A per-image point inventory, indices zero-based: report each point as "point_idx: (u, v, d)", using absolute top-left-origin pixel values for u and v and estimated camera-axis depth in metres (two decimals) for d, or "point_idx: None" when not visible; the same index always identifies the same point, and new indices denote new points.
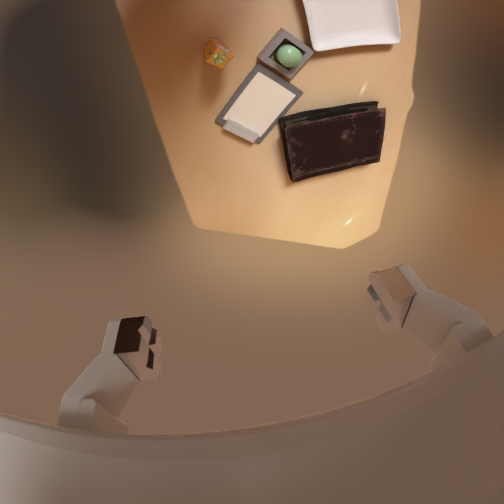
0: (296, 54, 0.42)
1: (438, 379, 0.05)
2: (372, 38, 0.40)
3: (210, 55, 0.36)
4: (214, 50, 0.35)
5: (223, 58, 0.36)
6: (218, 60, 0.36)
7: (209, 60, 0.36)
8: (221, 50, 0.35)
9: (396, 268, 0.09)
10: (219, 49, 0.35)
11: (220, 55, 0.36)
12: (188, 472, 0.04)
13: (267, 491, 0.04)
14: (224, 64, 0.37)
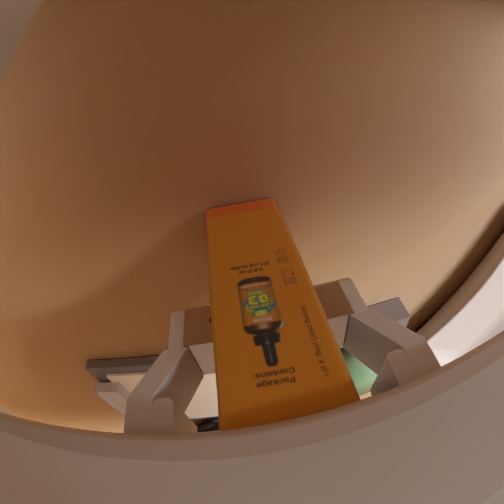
0: None
1: (438, 379, 0.05)
2: None
3: (272, 396, 0.06)
4: (320, 389, 0.06)
5: None
6: None
7: None
8: None
9: (336, 283, 0.09)
10: None
11: None
12: (188, 472, 0.04)
13: (268, 490, 0.04)
14: None
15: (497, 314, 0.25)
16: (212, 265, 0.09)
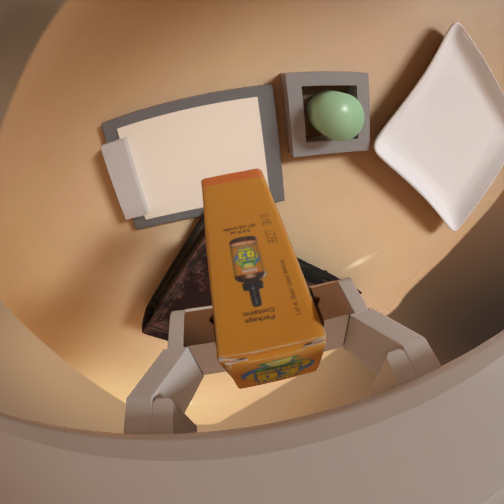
0: (354, 123, 0.21)
1: (438, 379, 0.05)
2: (437, 201, 0.30)
3: (257, 330, 0.08)
4: (294, 325, 0.08)
5: (287, 373, 0.09)
6: (266, 373, 0.08)
7: (239, 363, 0.08)
8: (320, 352, 0.08)
9: (336, 282, 0.09)
10: (321, 348, 0.08)
11: (294, 364, 0.08)
12: (188, 472, 0.04)
13: (267, 490, 0.04)
14: (263, 383, 0.09)
15: (477, 161, 0.28)
16: (208, 227, 0.11)
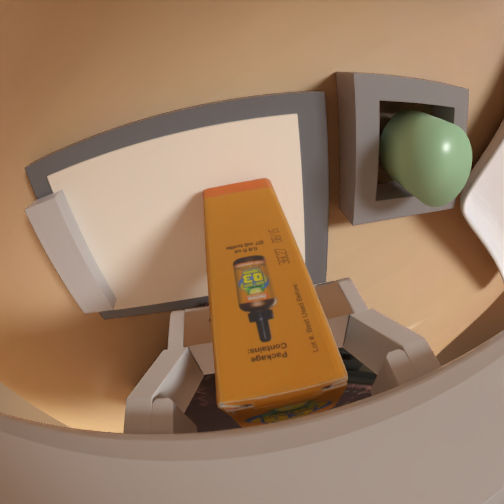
0: (458, 176, 0.11)
1: (438, 379, 0.05)
2: (501, 259, 0.20)
3: (265, 370, 0.06)
4: (310, 364, 0.06)
5: (299, 414, 0.07)
6: (275, 416, 0.07)
7: (243, 409, 0.06)
8: None
9: (336, 282, 0.09)
10: (341, 390, 0.06)
11: (308, 407, 0.07)
12: (188, 472, 0.04)
13: (268, 490, 0.04)
14: None
15: None
16: (209, 245, 0.10)
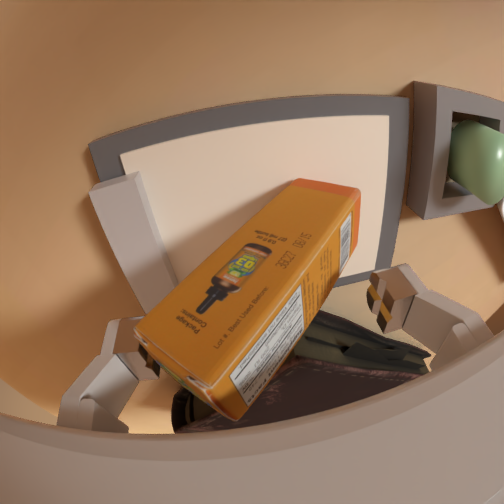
0: None
1: (438, 379, 0.05)
2: None
3: (175, 330, 0.07)
4: (201, 353, 0.07)
5: (195, 395, 0.08)
6: (173, 377, 0.08)
7: (142, 343, 0.07)
8: None
9: (396, 268, 0.09)
10: (206, 395, 0.06)
11: (192, 390, 0.07)
12: (188, 472, 0.04)
13: (267, 491, 0.04)
14: None
15: None
16: (248, 222, 0.10)
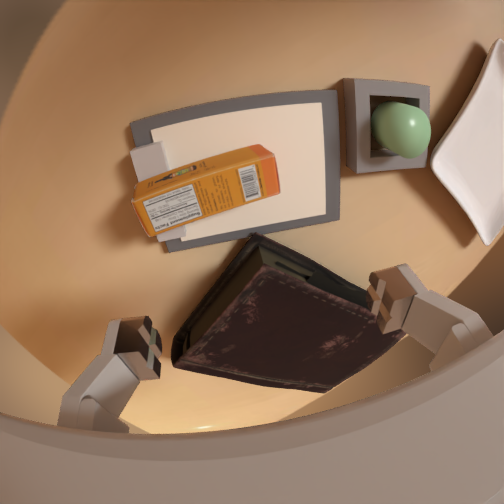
0: (421, 139, 0.18)
1: (438, 379, 0.05)
2: (475, 217, 0.27)
3: (144, 186, 0.18)
4: (142, 192, 0.17)
5: None
6: None
7: None
8: (135, 210, 0.17)
9: (396, 268, 0.09)
10: (133, 206, 0.17)
11: None
12: (188, 472, 0.04)
13: (267, 491, 0.04)
14: None
15: None
16: (206, 158, 0.19)
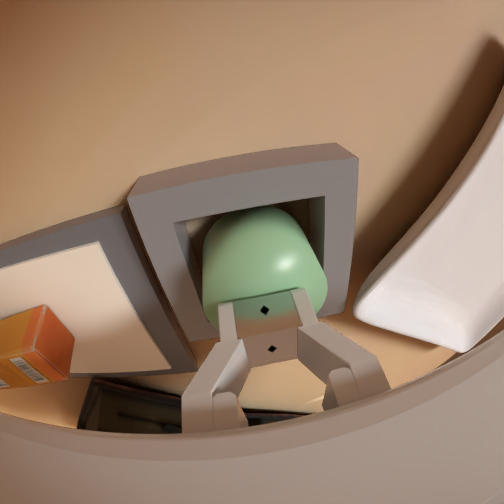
0: None
1: (438, 379, 0.05)
2: (450, 329, 0.19)
3: None
4: None
5: None
6: None
7: None
8: None
9: (289, 293, 0.09)
10: None
11: None
12: (188, 472, 0.04)
13: (267, 491, 0.04)
14: None
15: None
16: (4, 319, 0.11)
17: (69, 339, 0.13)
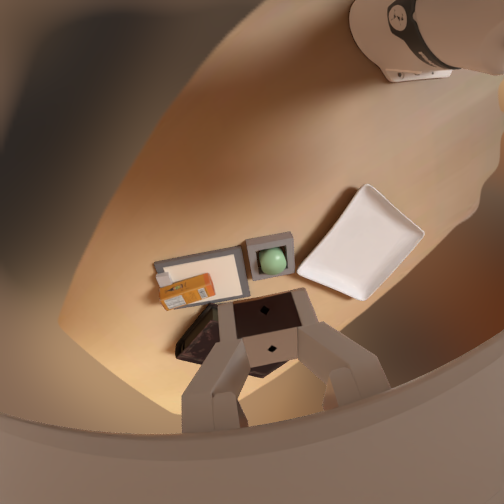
0: (280, 266, 0.49)
1: (438, 379, 0.05)
2: (347, 287, 0.57)
3: (163, 291, 0.49)
4: (163, 296, 0.48)
5: None
6: None
7: (159, 291, 0.50)
8: (161, 302, 0.48)
9: (289, 293, 0.09)
10: (160, 301, 0.48)
11: None
12: (188, 472, 0.04)
13: (267, 490, 0.04)
14: None
15: (383, 257, 0.55)
16: None
17: None
